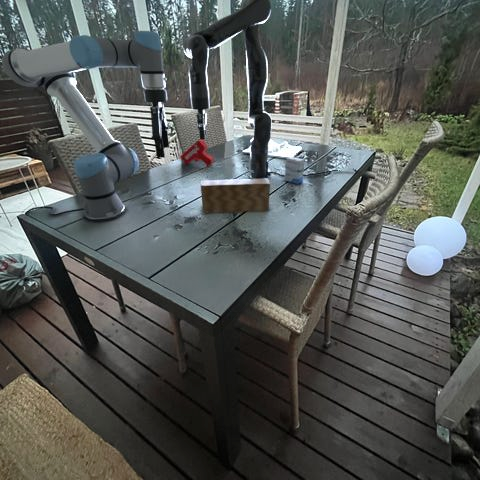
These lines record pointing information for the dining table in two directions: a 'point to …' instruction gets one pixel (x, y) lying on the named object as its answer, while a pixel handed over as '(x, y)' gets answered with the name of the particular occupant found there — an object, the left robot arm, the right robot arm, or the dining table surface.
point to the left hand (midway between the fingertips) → (163, 152)
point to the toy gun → (197, 153)
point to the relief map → (280, 150)
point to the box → (235, 195)
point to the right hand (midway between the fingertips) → (203, 137)
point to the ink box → (294, 170)
